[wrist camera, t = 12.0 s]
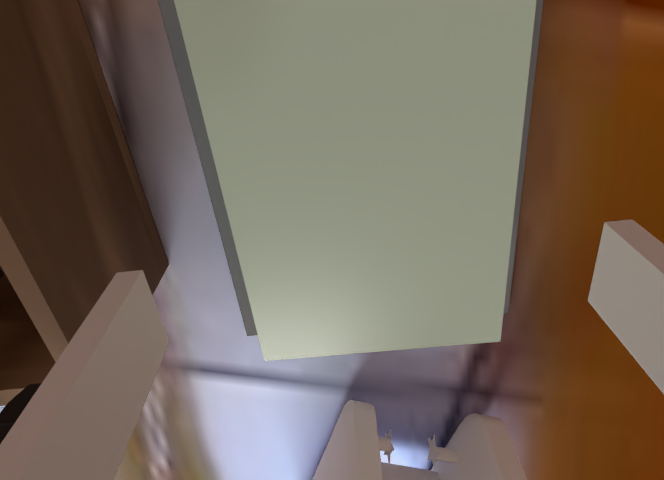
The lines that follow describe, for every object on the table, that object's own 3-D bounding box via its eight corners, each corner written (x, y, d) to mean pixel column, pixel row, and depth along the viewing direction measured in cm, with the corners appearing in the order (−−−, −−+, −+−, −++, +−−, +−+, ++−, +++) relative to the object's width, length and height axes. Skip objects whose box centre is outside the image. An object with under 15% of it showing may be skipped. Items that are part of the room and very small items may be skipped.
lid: (273, 305, 26) (264, 360, 22) (201, -22, 18) (169, -19, 14) (475, 287, 25) (500, 341, 22) (498, -59, 17) (543, -65, 14)
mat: (248, 329, 27) (247, 335, 27) (143, -76, 17) (137, -77, 17) (504, 306, 27) (508, 313, 26) (551, -130, 17) (558, -133, 16)
